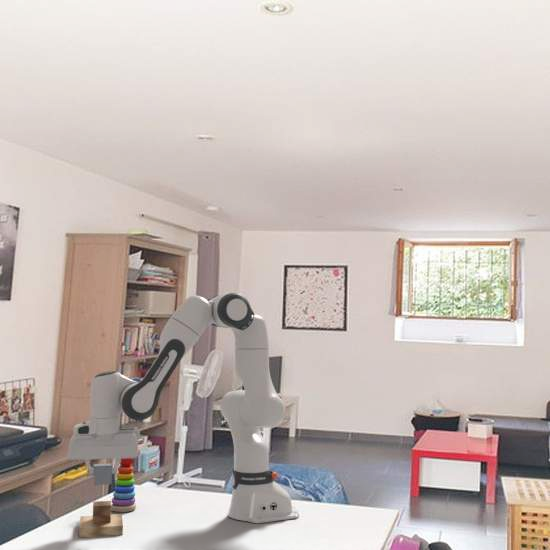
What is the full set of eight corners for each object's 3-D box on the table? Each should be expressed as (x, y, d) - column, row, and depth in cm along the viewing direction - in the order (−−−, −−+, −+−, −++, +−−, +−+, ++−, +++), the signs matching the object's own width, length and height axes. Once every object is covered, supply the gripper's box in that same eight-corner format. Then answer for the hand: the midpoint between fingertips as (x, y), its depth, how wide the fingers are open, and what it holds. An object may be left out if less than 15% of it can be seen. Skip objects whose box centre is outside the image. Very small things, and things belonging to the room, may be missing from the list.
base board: (121, 522, 194) (121, 513, 194) (122, 534, 183) (122, 525, 183) (80, 525, 191) (80, 516, 191) (78, 537, 180) (79, 528, 180)
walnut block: (110, 518, 190) (110, 500, 190) (110, 522, 185) (111, 505, 186) (92, 519, 189) (93, 501, 189) (92, 524, 184) (93, 506, 184)
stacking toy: (129, 514, 203) (131, 453, 205) (106, 512, 205) (108, 452, 206) (139, 507, 211) (141, 449, 213) (117, 505, 213) (119, 448, 214)
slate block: (110, 480, 191) (111, 463, 192) (111, 484, 187) (112, 466, 187) (93, 481, 190) (93, 464, 190) (93, 485, 185) (94, 467, 186)
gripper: (139, 424, 195) (138, 470, 194) (69, 425, 190) (67, 473, 189) (140, 427, 189) (139, 475, 188) (68, 428, 184) (66, 478, 183)
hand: (102, 474), depth 188 cm, fingers closed on slate block, 5 cm apart
